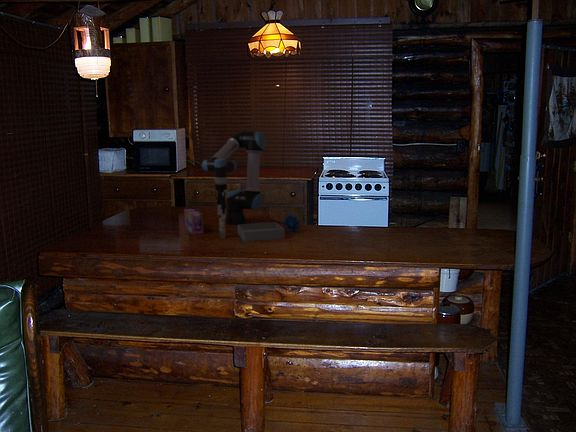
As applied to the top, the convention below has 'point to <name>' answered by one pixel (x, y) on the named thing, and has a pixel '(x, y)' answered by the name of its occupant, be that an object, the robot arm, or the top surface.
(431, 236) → the top surface
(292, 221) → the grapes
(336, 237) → the top surface
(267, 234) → the box
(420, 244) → the top surface
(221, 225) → the peg
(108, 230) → the top surface
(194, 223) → the gum box
